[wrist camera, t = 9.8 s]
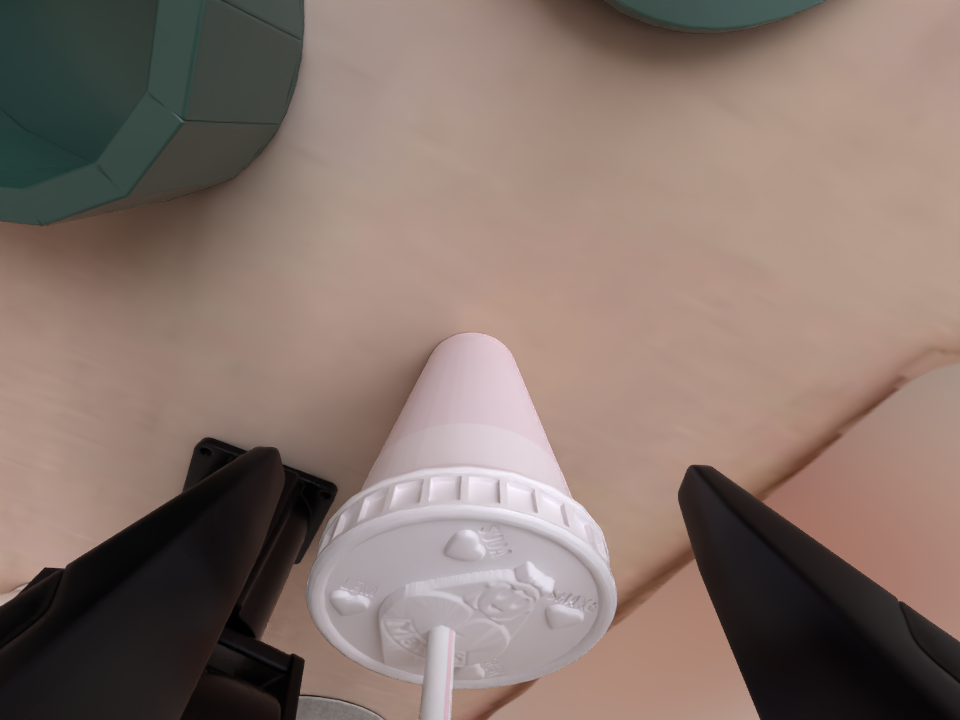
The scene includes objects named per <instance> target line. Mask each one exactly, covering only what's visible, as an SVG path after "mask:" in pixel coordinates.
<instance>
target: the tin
mask: <svg viewBox="0 0 960 720" xmlns="http://www.w3.org/2000/svg"><path fill="white" fill-rule="evenodd" d="M303 32H304V0H0V221H2V222H11V223H19V224H28V225H37V226H44V225H47V226H48V225H52V224H57V223H62V222H67V221H71V220H76V219H81V218H85V217H90V216H95V215H100V214H104V213H109V212H114V211H118V210H123V209H128V208H133V207H137V206H142V205H147V204H151V203H156V202H161V201H166V200H170V199H174V198H177V197H180V196H183V195H186V194H189V193H192V192H195V191H198V190H202V189H205V188H209V187H211V186H214V185H216V184H218V183H221V182H224V181H227V180H230V179H232V178H233V177H236V175H237V174H238V173H239V172H240V171H241V170H242V169H244V168H245V167H246V166H248V165H249V164H250V163H251V162H252V161H253V160H254V159H255V158H256V157H257V156H258V155H259V154H260V153H261V152H262V151H263V149H264V148H265V147H266V145H267V144H268V143H269V141H270V140H271V139H272V137H273V136H274V135H275V133H276V131H277V129H278V127H279V125H280V123H281V121H282V120H283V118H284V116H285V114H286V112H287V109H288V106H289V103H290V100H291V98H292V95H293V92H294V89H295V86H296V81H297V76H298V71H299V67H300V62H301V56H302V44H303Z"/></svg>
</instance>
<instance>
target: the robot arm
mask: <svg viewBox="0 0 960 720" xmlns="http://www.w3.org/2000/svg"><path fill="white" fill-rule="evenodd" d="M337 491H338V489H337V487H336V486H335V485H334V484H333V483H331V482H328V481H326V480H323V479H320V478H318V477H315V476H312V475H310V474H307V473H304V472H302V471H299V470H296V469H294V468H291V467H288V466H286V465H283V464H282V462H281V458H280V454H279V451H278V450H277V448H275V447H262V446H259V447H255V448H253V449H251V450H250V451H245V450H243V449H240V448H237V447H235V446H232V445H229V444H227V443H224V442H221V441H219V440H216V439H213V438H203V439H202V440H201V441H200V442H199V443H198V444H197V445H196V446H195V448H194V452H193V455H192V459H191V463H190V466H189V470H188V474H187V477H186V481H185V485H184V488H183V492H182V493H181V494H180V495H178V496H176V497H175V498H173V499H172V500H170V501H168V502H167V503H165V504H164V505H162V506H160V507H159V508H157V509H156V510H154V511H152V512H151V513H149V514H148V515H146V516H145V517H143V518H141V519H140V520H138V521H137V522H135V523H133V524H132V525H130V526H129V527H127V528H125V529H124V530H122V531H121V532H119V533H117V534H116V535H114V536H113V537H111V538H109V539H108V540H106V541H105V542H103V543H101V544H100V545H98V546H97V547H95V548H93V549H92V550H90V551H89V552H87V553H85V554H84V555H82V556H81V557H79V558H77V559H76V560H74V561H73V562H71V563H69V564H68V565H67V566H66V568H65V569H63V568H44V569H43V570H42V571H41V572H40V573H39V574H38V575H37V576H36V577H35V578H34V579H33V580H32V581H31V582H30V583H29V584H28V585H27V586H26V587H25V588H24V589H23V590H22V591H21V592H19V593H18V594H17V595H16V596H15V597H14V598H13V599H11V600H10V601H8V602H6V603H5V604H3V605H1V606H0V720H296V714H297V707H298V701H299V695H300V688H301V682H302V675H303V669H304V662H305V660H304V659H303V658H301V657H299V656H297V655H295V654H291V655H289V654H286V653H284V652H282V651H280V650H278V649H276V648H274V647H272V646H270V645H268V644H266V643H264V642H262V641H260V639H261V637H262V635H263V632H264V630H265V628H266V626H267V623H268V621H269V619H270V617H271V614H272V612H273V610H274V608H275V605H276V603H277V601H278V599H279V596H280V594H281V592H282V589H283V587H284V585H285V583H286V580H287V578H288V576H289V574H290V571H291V569H292V567H293V565H294V564H298V563H300V562H301V560H302V558H303V556H304V555H305V553H306V551H307V549H308V547H309V545H310V543H311V542H312V540H313V538H314V536H315V534H316V532H317V530H318V529H319V527H320V525H321V523H322V521H323V519H324V517H325V516H326V514H327V512H328V510H329V508H330V506H331V504H332V503H333V501H334V499H335V496H336V494H337ZM678 501H679V505H680V508H681V511H682V515H683V518H684V522H685V525H686V528H687V532H688V535H689V538H690V542H691V545H692V549H693V552H694V555H695V559H696V562H697V565H698V568H699V571H700V573H701V576H702V578H703V581H704V584H705V586H706V588H707V591H708V593H709V596H710V598H711V600H712V603H713V605H714V608H715V610H716V613H717V615H718V618H719V620H720V622H721V625H722V627H723V630H724V632H725V635H726V637H727V639H728V642H729V644H730V647H731V649H732V652H733V654H734V657H735V659H736V661H737V664H738V666H739V669H740V671H741V673H742V676H743V678H744V681H745V683H746V685H747V688H748V691H749V693H750V696H751V698H752V700H753V703H754V705H755V707H756V710H757V713H758V715H759V718H760V720H960V642H959V641H958V640H956V639H955V638H953V637H952V636H951V635H949V634H948V633H946V632H945V631H943V630H942V629H940V628H939V627H938V626H936V625H935V624H933V623H932V622H930V621H929V620H927V619H926V618H925V617H923V616H922V615H920V614H919V613H917V612H916V611H915V610H913V609H912V608H911V607H909V606H908V605H906V604H905V603H903V602H901V601H899V602H898V599H897V598H896V597H895V596H894V595H892V594H891V593H889V592H888V591H886V590H885V589H883V588H882V587H881V586H879V585H878V584H877V583H875V582H873V581H872V580H871V579H870V578H868V577H867V576H865V575H864V574H862V573H861V572H860V571H858V570H857V569H855V568H854V567H853V566H851V565H850V564H848V563H847V562H845V561H844V560H843V559H841V558H840V557H838V556H837V555H836V554H834V553H833V552H831V551H830V550H829V549H827V548H826V547H824V546H823V545H822V544H820V543H819V542H817V541H816V540H815V539H813V538H812V537H810V536H809V535H807V534H806V533H805V532H803V531H802V530H800V529H799V528H798V527H796V526H795V525H793V524H792V523H791V522H789V521H788V520H786V519H785V518H784V517H782V516H780V515H779V514H778V513H776V512H775V511H774V510H772V509H771V508H769V507H768V506H766V505H765V504H764V503H762V502H761V501H760V500H758V499H757V498H755V497H754V496H752V495H751V494H750V493H748V492H747V491H745V490H744V489H743V488H741V487H740V486H738V485H737V484H736V483H734V482H733V481H731V480H730V479H728V478H727V477H726V476H724V475H723V474H721V473H720V472H719V471H717V470H716V469H714V468H713V467H711V466H708V465H691V466H689V467H688V469H687V471H686V474H685V476H684V479H683V481H682V484H681V486H680V489H679V492H678Z"/></svg>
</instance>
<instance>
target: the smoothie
mask: <svg viewBox="0 0 960 720" xmlns="http://www.w3.org/2000/svg"><path fill="white" fill-rule="evenodd" d="M609 560H610V554H609V551H608V548H607V545H606V542H605V538H604V535H603V532H602V529H601V528H600V527H599V526H598V524H597V523H596V522H595V521H594V520H593V518H592V517H591V516H590V515H589V513H588V512H587V511H586V510H585V508H584V507H583V506H582V505H581V504H579V503H578V502H576V501H575V500H573V499H572V496H571V494H570V491H569V489H568V486H567V483H566V481H565V478H564V476H563V474H562V472H561V470H560V468H559V466H558V463H557V461H556V458H555V456H554V454H553V451H552V449H551V446H550V444H549V442H548V439H547V437H546V434H545V432H544V430H543V427H542V425H541V422H540V420H539V418H538V415H537V413H536V410H535V408H534V406H533V403H532V401H531V398H530V396H529V394H528V391H527V389H526V387H525V384H524V382H523V379H522V377H521V375H520V372H519V370H518V367H517V365H516V363H515V360H514V358H513V356H512V354H511V352H510V351H509V349H508V348H507V347H506V346H505V345H504V344H503V343H501V342H500V341H499V340H497V339H495V338H493V337H491V336H488V335H485V334H481V333H461V334H457V335H454V336H451V337H449V338H447V339H446V340H444V341H443V342H441V343H440V344H439V345H438V346H437V347H436V348H435V349H434V351H433V352H432V354H431V355H430V357H429V359H428V361H427V363H426V365H425V367H424V369H423V371H422V373H421V375H420V377H419V379H418V380H417V382H416V384H415V386H414V388H413V390H412V392H411V394H410V396H409V398H408V400H407V402H406V404H405V406H404V408H403V409H402V411H401V413H400V415H399V417H398V419H397V421H396V423H395V425H394V427H393V429H392V431H391V433H390V435H389V436H388V438H387V440H386V442H385V444H384V446H383V448H382V450H381V452H380V454H379V456H378V458H377V460H376V462H375V463H374V465H373V466H372V468H371V470H370V472H369V474H368V476H367V478H366V480H365V482H364V484H363V486H362V488H361V490H360V492H359V493H357V494H356V495H354V496H352V497H351V498H350V499H349V500H348V501H347V502H346V503H345V504H344V505H343V506H342V507H341V508H340V509H339V510H338V511H337V512H336V513H335V514H334V515H333V516H332V517H331V518H330V519H329V521H328V523H327V525H326V528H325V530H324V532H323V535H322V537H321V539H320V542H319V544H318V554H317V556H316V559H315V562H314V564H313V566H312V568H311V571H310V574H309V577H308V580H307V586H306V601H307V606H308V610H309V613H310V615H311V617H312V619H313V621H314V623H315V625H316V627H317V628H318V630H319V631H320V632H321V633H322V635H323V636H324V637H325V638H326V640H327V641H328V642H329V643H330V644H331V645H332V646H334V647H335V648H336V649H337V650H338V651H340V652H341V653H342V654H343V655H344V656H346V657H348V658H349V659H351V660H353V661H354V662H356V663H358V664H360V665H361V666H363V667H365V668H367V669H370V670H372V671H374V672H377V673H379V674H382V675H384V676H387V677H390V678H394V679H397V680H401V681H404V682H408V683H412V684H418V685H423V687H422V697H421V706H420V716H419V720H451V709H452V689H483V688H492V687H500V686H508V685H513V684H517V683H522V682H526V681H530V680H534V679H536V678H539V677H542V676H545V675H548V674H551V673H553V672H555V671H557V670H559V669H561V668H563V667H565V666H567V665H569V664H571V663H573V662H574V661H576V660H577V659H578V658H580V657H581V656H583V655H584V654H585V653H587V652H588V651H590V650H591V649H592V647H594V645H595V644H596V643H597V642H598V641H599V640H600V639H601V638H602V637H603V636H604V634H605V632H606V631H607V629H608V628H609V626H610V624H611V622H612V620H613V618H614V614H615V611H616V606H617V589H616V585H615V581H614V577H613V575H612V572H611V569H610V565H609Z"/></svg>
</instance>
